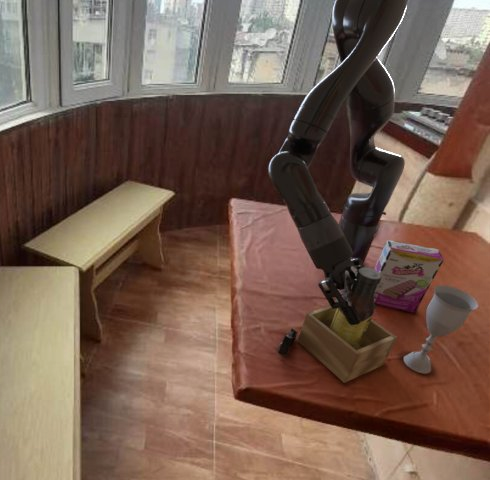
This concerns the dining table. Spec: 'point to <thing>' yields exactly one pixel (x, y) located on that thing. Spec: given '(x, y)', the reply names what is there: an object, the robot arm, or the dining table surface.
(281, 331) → the dining table surface
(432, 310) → the chalice
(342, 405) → the dining table surface
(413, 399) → the dining table surface
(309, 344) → the caddy
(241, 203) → the dining table surface
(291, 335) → the lighter
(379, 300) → the candy bar box
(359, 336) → the sauce bottle
